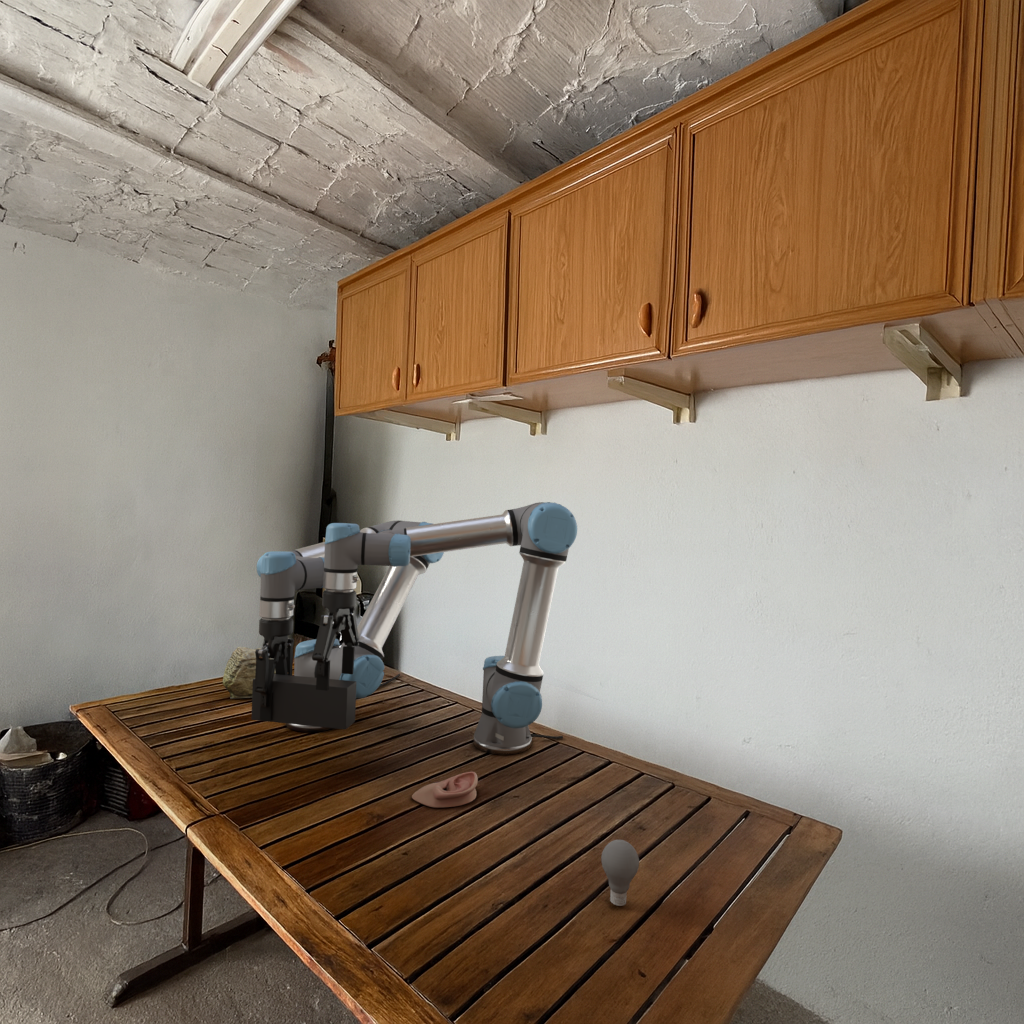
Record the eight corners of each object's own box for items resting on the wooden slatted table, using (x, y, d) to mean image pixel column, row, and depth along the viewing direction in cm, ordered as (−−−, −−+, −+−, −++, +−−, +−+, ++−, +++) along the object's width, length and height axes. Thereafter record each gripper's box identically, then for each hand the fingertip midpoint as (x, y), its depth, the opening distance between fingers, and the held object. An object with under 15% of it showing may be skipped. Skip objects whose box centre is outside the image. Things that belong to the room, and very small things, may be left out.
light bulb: (595, 892, 105) (598, 832, 105) (631, 891, 105) (634, 832, 105) (604, 915, 99) (607, 852, 99) (641, 915, 99) (644, 852, 99)
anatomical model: (407, 784, 132) (425, 763, 143) (406, 803, 132) (424, 780, 143) (468, 793, 129) (482, 770, 140) (467, 812, 129) (481, 788, 141)
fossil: (218, 695, 195) (220, 647, 195) (278, 685, 208) (279, 640, 207) (228, 703, 189) (230, 653, 188) (289, 692, 201) (290, 645, 201)
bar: (251, 719, 147) (252, 679, 147) (263, 712, 152) (265, 673, 152) (345, 729, 144) (347, 687, 143) (355, 721, 149) (356, 681, 149)
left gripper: (270, 626, 139) (266, 731, 140) (309, 612, 157) (306, 704, 158) (239, 623, 140) (235, 727, 141) (281, 609, 158) (278, 702, 159)
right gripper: (331, 598, 133) (327, 699, 134) (375, 584, 158) (370, 669, 158) (298, 596, 134) (293, 695, 135) (346, 582, 159) (342, 666, 159)
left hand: (272, 715), depth 149 cm, fingers closed on bar, 5 cm apart
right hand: (335, 681), depth 147 cm, fingers open, 13 cm apart
